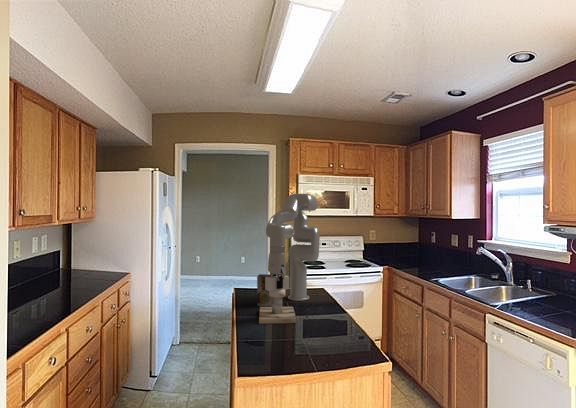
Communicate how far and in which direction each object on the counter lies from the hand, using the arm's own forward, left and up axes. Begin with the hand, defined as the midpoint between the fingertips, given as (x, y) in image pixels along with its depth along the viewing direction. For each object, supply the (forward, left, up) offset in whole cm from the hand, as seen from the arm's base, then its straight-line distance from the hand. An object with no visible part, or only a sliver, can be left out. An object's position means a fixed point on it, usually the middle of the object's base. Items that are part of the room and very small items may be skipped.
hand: (277, 287), depth 170 cm
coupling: (+1, +1, -4) cm, 4 cm away
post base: (0, 0, -14) cm, 14 cm away
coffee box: (-22, -5, -15) cm, 27 cm away
